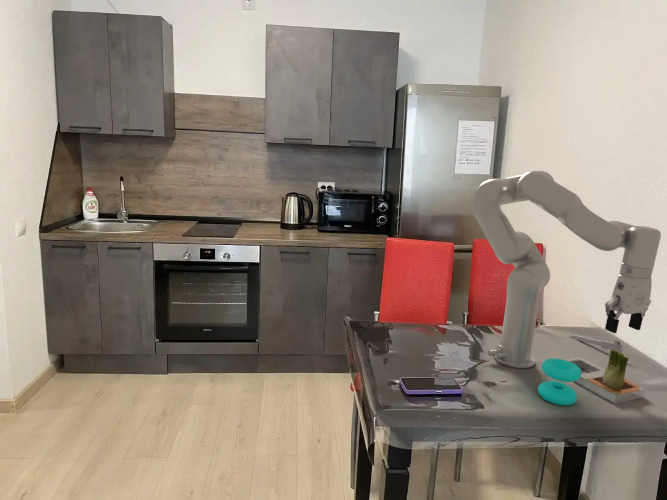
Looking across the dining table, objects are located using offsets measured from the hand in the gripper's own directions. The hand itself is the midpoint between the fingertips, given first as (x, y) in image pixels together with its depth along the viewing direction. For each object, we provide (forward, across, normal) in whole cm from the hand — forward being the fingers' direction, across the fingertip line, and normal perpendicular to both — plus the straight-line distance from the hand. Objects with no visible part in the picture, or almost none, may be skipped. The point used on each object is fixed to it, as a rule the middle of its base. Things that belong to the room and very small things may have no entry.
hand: (622, 329), depth 142 cm
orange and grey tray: (+19, 0, +5) cm, 20 cm away
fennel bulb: (+19, 0, 0) cm, 19 cm away
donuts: (+19, -19, +1) cm, 27 cm away
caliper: (+20, +24, +25) cm, 39 cm away
